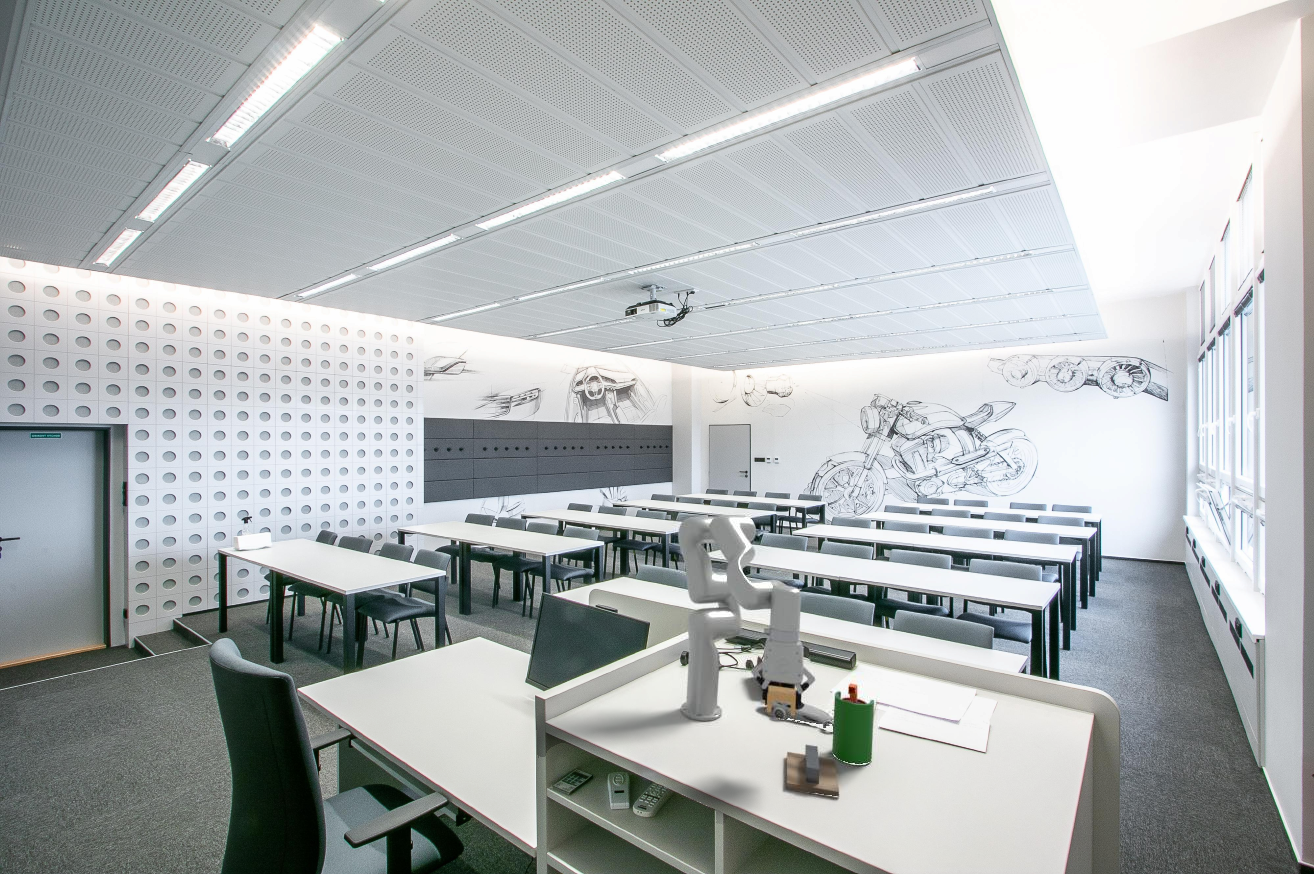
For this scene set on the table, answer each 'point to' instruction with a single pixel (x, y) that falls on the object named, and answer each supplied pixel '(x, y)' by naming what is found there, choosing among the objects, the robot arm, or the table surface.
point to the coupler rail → (812, 764)
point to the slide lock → (781, 697)
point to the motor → (852, 728)
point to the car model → (800, 713)
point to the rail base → (798, 775)
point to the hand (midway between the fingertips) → (781, 704)
